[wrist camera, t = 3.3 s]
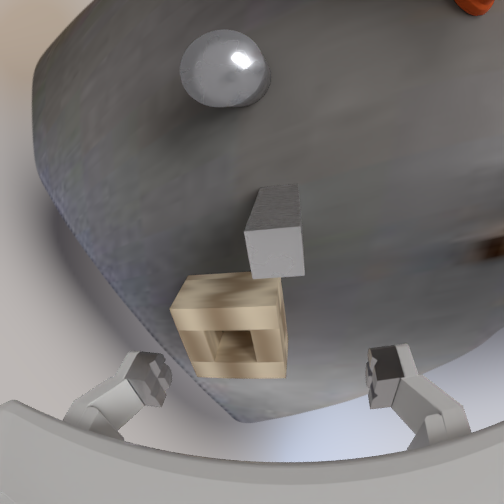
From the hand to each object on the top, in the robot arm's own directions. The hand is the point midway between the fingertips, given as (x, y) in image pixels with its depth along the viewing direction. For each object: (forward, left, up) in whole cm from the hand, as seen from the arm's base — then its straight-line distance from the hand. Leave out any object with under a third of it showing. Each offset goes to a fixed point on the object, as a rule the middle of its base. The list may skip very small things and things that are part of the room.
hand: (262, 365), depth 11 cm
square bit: (0, 0, -19) cm, 19 cm away
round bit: (+2, -12, -19) cm, 22 cm away
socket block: (+6, +12, -19) cm, 23 cm away
